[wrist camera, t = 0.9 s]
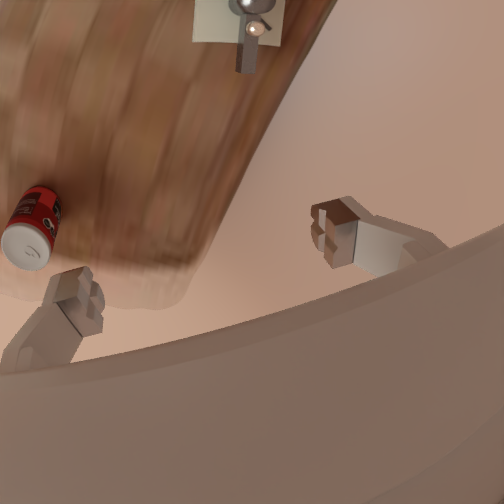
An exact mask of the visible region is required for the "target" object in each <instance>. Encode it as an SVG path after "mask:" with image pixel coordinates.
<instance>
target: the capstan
mask: <svg viewBox="0 0 504 504" xmlns="http://www.w3.org/2000/svg"><path fill="white" fill-rule="evenodd" d="M275 4H276V0H229V2H228V5H229V8H230V10H231V11H232V12H233V13H234V14H235V15H237V16H240V24H239V35H238V46H237V58H236V69H235V71H236V72H239V73H245V74H255V70H256V60H257V50H258V40H259V36H261V35H263V34H264V32H265V25H264V24H263V23H262V22H260V21H261V15H257V14H264V13H267V12H269V11H271V10H272V9H273V8H274V6H275Z"/></svg>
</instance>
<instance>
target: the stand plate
mask: <svg viewBox="0 0 504 504" xmlns="http://www.w3.org/2000/svg"><path fill="white" fill-rule="evenodd" d="M228 2H229V0H195V11H194V24H193V39H192V42H231V43H238V35H239V24H240V16H237V15H235V14H234V13H233V12H232V11H231V10H230V8H229V5H228ZM284 8H285V0H276V4H275V6H274V8H273V9H272V10H271V11H269V12H267V13H264V14H257V15H261V21H260V22H262V23H263V24H264V25H265V32H264V34H263V35H261V36H259V40H258V44H261V45H271V46H280V42H281V34H282V25H283V17H284Z"/></svg>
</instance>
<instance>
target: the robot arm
mask: <svg viewBox="0 0 504 504" xmlns="http://www.w3.org/2000/svg"><path fill="white" fill-rule="evenodd" d="M311 216H312V218H313V219H314V222H313V224H312V225H311V235H312V239H313V242H314V244H315V246H316V248H317V249H318V250H319V251H322V252H324V258H325V260H326V261H327V262H328V264H329V265H330V266H331V268H332V269H334V268H337V267H341V266H344V265H348V264H351V263H353V264H354V265H356V266H358V267H360V268H362V269H364V270H365V271H367V272H369V273H371V274H373V275H375V276H377V277H378V278H376V279H373V280H370V281H367V282H365V283H362V284H359V285H356V286H354V287H351V288H348V289H345V290H343V291H339V292H337V293H334V294H331V295H328V296H325V297H322V298H319V299H316V300H313V301H310V302H307V303H304V304H301V305H298V306H295V307H292V308H289V309H285V310H282V311H279V312H276V313H273V314H269V315H266V316H263V317H259V318H256V319H253V320H249V321H246V322H242V323H239V324H235V325H232V326H228V327H225V328H221V329H218V330H214V331H210V332H207V333H203V334H199V335H195V336H192V337H188V338H184V339H180V340H176V341H172V342H168V343H164V344H160V345H155V346H151V347H147V348H143V349H138V350H133V351H129V352H124V353H119V354H115V355H110V356H105V357H100V358H95V359H90V360H85V361H79V362H74V363H70V362H71V360H72V358H73V356H74V354H75V352H76V351H77V348H78V347H79V345H80V343H81V341H82V339H83V337H87V336H91V335H94V334H98V333H102V328H103V317H102V315H101V313H102V311H103V310H104V307H105V300H104V295H103V292H102V289H101V287H100V286H99V284H98V283H96V282H94V281H93V280H92V278H93V273H92V272H91V270H90V268H89V267H87V266H84V267H80V268H76V269H73V270H69V271H66V272H63V273H59V274H56V275H53V276H52V277H51V278H50V281H49V284H48V287H47V290H46V293H45V296H44V299H43V303H42V306H41V307H38V308H37V310H36V311H35V312H34V313H33V314H32V315H31V317H30V318H29V319H28V320H27V321H26V323H25V324H24V325H23V326H22V328H21V329H20V330H19V331H18V333H17V334H16V335H15V336H14V338H13V339H12V340H11V342H10V343H9V344H8V345H7V347H6V348H5V349H4V352H3V355H2V359H1V363H0V504H504V224H502V225H500V226H498V227H496V228H494V229H492V230H490V231H487V232H485V233H483V234H481V235H479V236H477V237H475V238H472V239H470V240H468V241H466V242H464V243H461V244H459V245H457V246H455V247H452V248H448V247H447V246H446V245H445V244H444V243H443V242H442V241H441V240H440V239H438V238H437V237H436V236H435V235H434V234H433V233H431V232H428V231H425V230H422V229H419V228H416V227H413V226H410V225H407V224H404V223H401V222H398V221H394V220H391V219H388V218H385V217H381V216H378V215H376V216H373V215H372V214H371V213H370V212H369V211H367V210H366V209H365V208H364V207H363V206H362V205H361V204H359V203H358V202H357V201H356V200H355V199H354V198H352V197H351V196H346V197H342V198H338V199H335V200H331V201H327V202H323V203H319V204H315V205H312V207H311Z"/></svg>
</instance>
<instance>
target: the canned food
mask: <svg viewBox="0 0 504 504" xmlns="http://www.w3.org/2000/svg"><path fill="white" fill-rule="evenodd" d="M61 217H62V205H61V201H60V199H59V197H58V196H57V195H56V194H55V193H54V192H53V191H52V190H50V189H48V188H46V187H41V186H38V187H33V188H31V189H29V190H28V191H26V192H25V193H24V195H23V196H22V198H21V200H20V201H19V203H18V205H17V207H16V209H15V211H14V212H13V214H12V216H11V218H10V220H9V222H8V224H7V226H6V228H5V231H4V233H3V236H2V240H1V247H2V250H3V253H4V255H5V256H6V258H7V259H8V260H9V261H10V262H11V263H12V264H13V265H14V266H16V267H18V268H20V269H23V270H27V271H37V270H40V269H42V268H44V267H45V266H46V265H47V263H48V262H49V259H50V257H51V253H52V250H53V246H54V242H55V238H56V235H57V231H58V227H59V224H60V221H61Z"/></svg>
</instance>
